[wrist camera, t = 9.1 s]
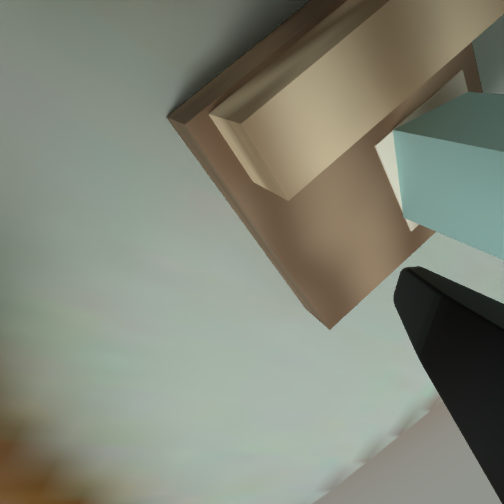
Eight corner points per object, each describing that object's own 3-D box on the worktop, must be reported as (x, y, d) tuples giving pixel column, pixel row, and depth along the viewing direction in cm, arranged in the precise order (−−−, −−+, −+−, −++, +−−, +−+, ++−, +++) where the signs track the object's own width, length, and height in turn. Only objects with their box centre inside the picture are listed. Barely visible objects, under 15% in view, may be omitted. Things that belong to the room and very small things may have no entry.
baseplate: (305, 308, 26) (330, 330, 24) (166, 117, 19) (185, 125, 16) (465, 163, 28) (502, 172, 26) (399, -72, 20) (444, -87, 18)
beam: (253, 181, 19) (288, 200, 16) (208, 114, 17) (240, 124, 14) (447, 16, 20) (507, 10, 18) (427, -66, 18) (491, -85, 16)
